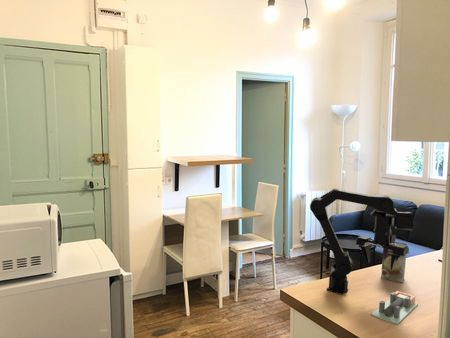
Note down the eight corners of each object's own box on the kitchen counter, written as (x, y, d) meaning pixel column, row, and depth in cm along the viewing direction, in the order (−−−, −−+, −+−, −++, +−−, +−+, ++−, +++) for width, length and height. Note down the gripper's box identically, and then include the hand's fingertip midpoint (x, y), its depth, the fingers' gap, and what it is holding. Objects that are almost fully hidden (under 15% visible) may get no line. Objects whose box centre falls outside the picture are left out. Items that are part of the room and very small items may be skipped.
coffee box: (380, 278, 164) (382, 243, 163) (382, 273, 170) (385, 239, 168) (403, 283, 160) (405, 246, 158) (404, 278, 165) (407, 243, 163)
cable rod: (381, 315, 130) (381, 308, 129) (399, 299, 142) (399, 293, 142) (390, 318, 127) (391, 311, 127) (407, 302, 140) (408, 296, 139)
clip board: (371, 315, 130) (371, 304, 130) (393, 297, 145) (393, 287, 145) (397, 324, 124) (398, 313, 124) (417, 304, 139) (418, 294, 139)
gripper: (415, 229, 143) (412, 268, 145) (368, 220, 156) (366, 255, 158) (404, 234, 135) (401, 275, 137) (356, 224, 149) (353, 261, 150)
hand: (379, 266), depth 146 cm, fingers open, 9 cm apart
